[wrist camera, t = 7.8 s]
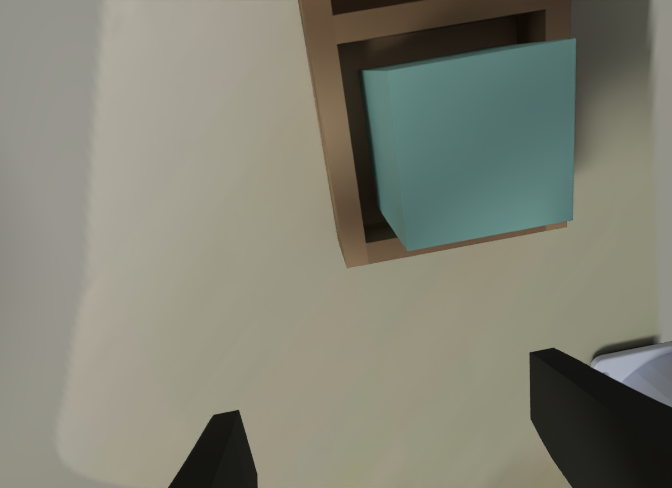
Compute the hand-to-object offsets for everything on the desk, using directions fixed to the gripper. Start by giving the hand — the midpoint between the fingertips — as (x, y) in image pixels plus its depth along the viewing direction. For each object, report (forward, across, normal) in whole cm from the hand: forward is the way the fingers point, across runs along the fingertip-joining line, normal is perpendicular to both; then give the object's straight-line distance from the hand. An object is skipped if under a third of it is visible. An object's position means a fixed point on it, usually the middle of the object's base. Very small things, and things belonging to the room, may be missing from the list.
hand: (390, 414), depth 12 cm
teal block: (+8, -4, -5) cm, 11 cm away
